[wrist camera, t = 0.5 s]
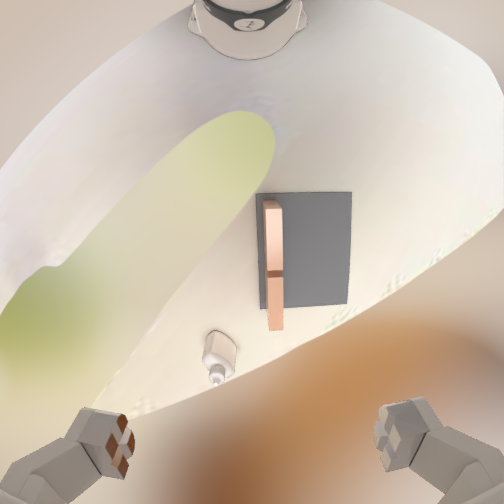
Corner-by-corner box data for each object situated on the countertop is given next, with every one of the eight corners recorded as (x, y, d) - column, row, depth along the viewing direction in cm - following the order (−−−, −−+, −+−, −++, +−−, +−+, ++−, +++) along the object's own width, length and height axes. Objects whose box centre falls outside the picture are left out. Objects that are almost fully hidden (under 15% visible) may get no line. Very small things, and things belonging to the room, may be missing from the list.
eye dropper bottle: (228, 326, 53) (223, 367, 42) (238, 351, 55) (236, 394, 43) (204, 331, 54) (194, 373, 42) (215, 356, 55) (208, 399, 44)
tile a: (262, 200, 47) (265, 209, 39) (276, 200, 47) (282, 208, 39) (264, 251, 49) (267, 270, 41) (277, 250, 49) (283, 269, 41)
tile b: (264, 257, 50) (267, 277, 41) (277, 257, 50) (283, 277, 41) (266, 303, 52) (269, 330, 43) (278, 302, 52) (283, 330, 43)
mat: (255, 194, 47) (255, 194, 47) (351, 192, 47) (351, 192, 47) (260, 308, 52) (260, 309, 52) (346, 303, 52) (346, 303, 52)
